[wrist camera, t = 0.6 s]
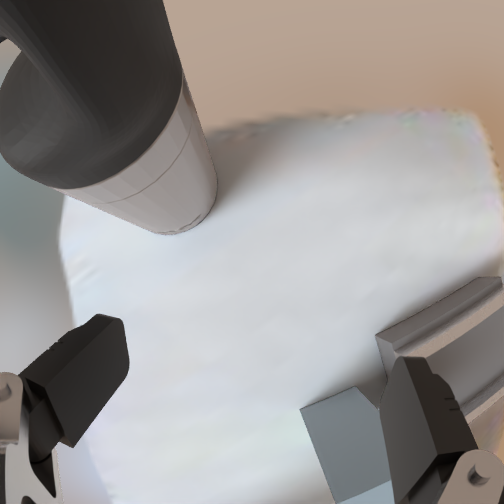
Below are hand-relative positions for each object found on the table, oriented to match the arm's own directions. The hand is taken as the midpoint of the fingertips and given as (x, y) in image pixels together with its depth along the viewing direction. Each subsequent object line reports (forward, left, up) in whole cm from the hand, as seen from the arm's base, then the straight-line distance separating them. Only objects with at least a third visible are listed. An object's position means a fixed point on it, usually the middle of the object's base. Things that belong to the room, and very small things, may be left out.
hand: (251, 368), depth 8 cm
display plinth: (+14, +18, -21) cm, 31 cm away
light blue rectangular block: (+14, +4, -21) cm, 25 cm away
